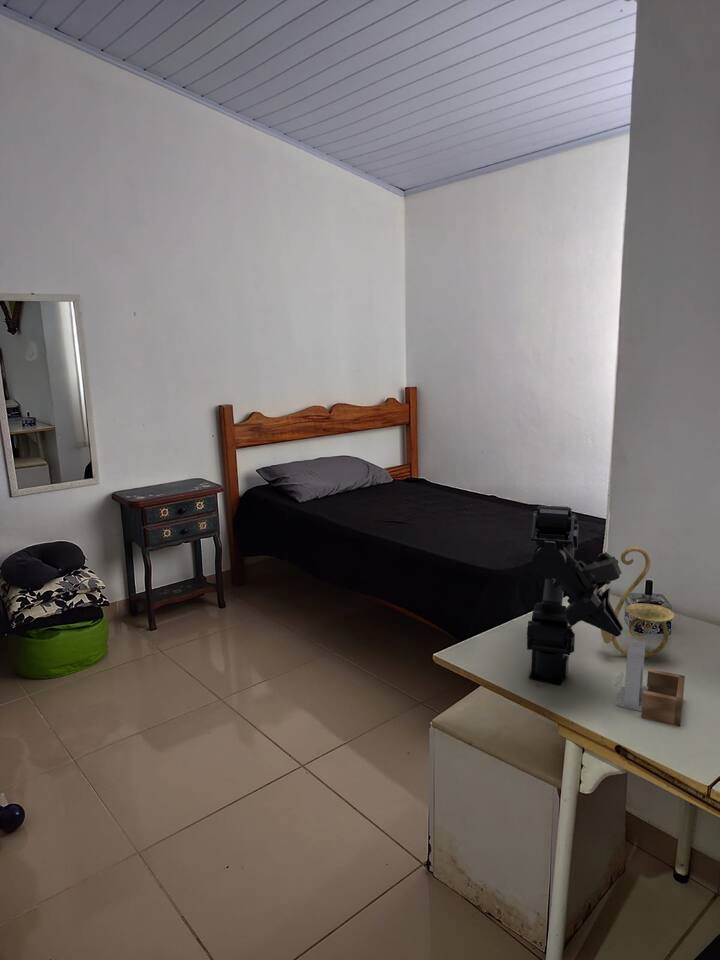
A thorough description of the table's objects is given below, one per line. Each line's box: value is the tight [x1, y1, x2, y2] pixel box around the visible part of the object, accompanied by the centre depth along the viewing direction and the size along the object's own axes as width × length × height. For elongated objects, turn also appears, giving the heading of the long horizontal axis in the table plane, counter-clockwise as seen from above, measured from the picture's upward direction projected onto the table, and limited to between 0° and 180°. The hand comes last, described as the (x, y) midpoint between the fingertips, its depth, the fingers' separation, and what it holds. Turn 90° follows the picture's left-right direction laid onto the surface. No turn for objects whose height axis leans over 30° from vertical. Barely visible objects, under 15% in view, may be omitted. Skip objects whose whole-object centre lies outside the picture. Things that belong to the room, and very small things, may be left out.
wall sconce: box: [600, 546, 675, 659], centre depth 137 cm, size 14×10×25 cm
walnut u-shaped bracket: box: [640, 668, 686, 728], centre depth 118 cm, size 6×10×5 cm, turn 151°
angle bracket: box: [616, 639, 648, 712], centre depth 120 cm, size 5×6×11 cm
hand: (620, 632), depth 120 cm, fingers closed
